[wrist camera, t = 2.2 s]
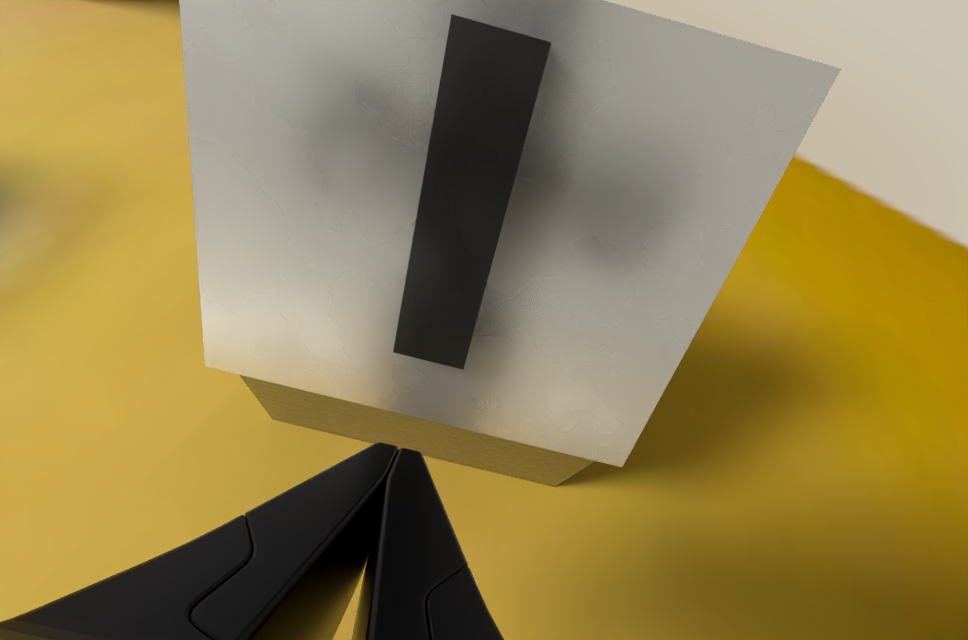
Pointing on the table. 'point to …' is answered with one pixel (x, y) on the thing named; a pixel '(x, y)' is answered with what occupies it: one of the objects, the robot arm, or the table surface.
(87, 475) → the table surface
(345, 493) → the robot arm
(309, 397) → the cooker pot
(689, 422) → the table surface
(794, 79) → the lid
